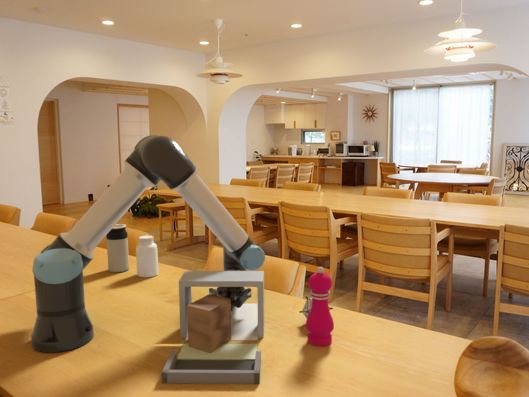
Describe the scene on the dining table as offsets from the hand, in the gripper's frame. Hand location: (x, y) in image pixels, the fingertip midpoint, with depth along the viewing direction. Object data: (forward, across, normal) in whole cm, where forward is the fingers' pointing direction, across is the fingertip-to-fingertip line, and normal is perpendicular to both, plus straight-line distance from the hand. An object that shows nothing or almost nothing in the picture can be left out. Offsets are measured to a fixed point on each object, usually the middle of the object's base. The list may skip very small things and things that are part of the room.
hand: (224, 313), depth 123 cm
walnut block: (+4, +3, -6) cm, 8 cm away
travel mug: (-62, +49, -7) cm, 79 cm away
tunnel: (-11, +1, -7) cm, 13 cm away
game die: (-10, -25, -7) cm, 28 cm away
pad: (+6, +1, -7) cm, 9 cm away
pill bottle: (-55, +36, -7) cm, 66 cm away
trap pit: (+17, +1, -7) cm, 19 cm away
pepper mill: (+1, -25, -7) cm, 26 cm away
